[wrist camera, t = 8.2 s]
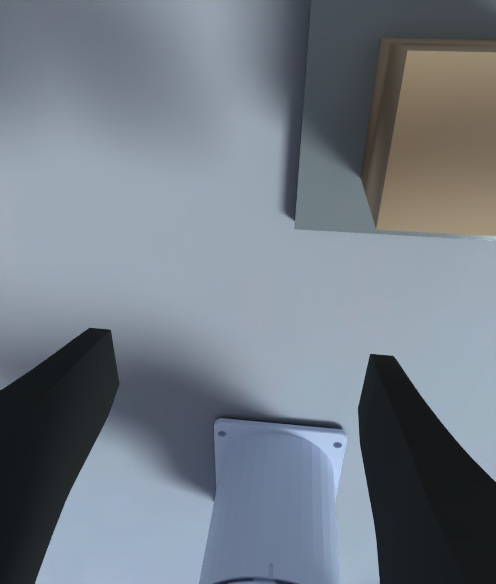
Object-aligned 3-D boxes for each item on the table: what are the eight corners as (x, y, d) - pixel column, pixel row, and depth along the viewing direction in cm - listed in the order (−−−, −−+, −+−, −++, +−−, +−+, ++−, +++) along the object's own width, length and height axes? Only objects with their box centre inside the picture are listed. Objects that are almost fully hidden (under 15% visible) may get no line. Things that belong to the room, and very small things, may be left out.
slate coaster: (525, 234, 20) (533, 242, 19) (294, 221, 21) (294, 229, 20) (631, -53, 15) (647, -55, 14) (314, -54, 15) (315, -57, 15)
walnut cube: (488, 184, 18) (543, 238, 14) (360, 178, 19) (376, 229, 14) (531, 40, 15) (615, 54, 11) (380, 37, 16) (407, 50, 12)
